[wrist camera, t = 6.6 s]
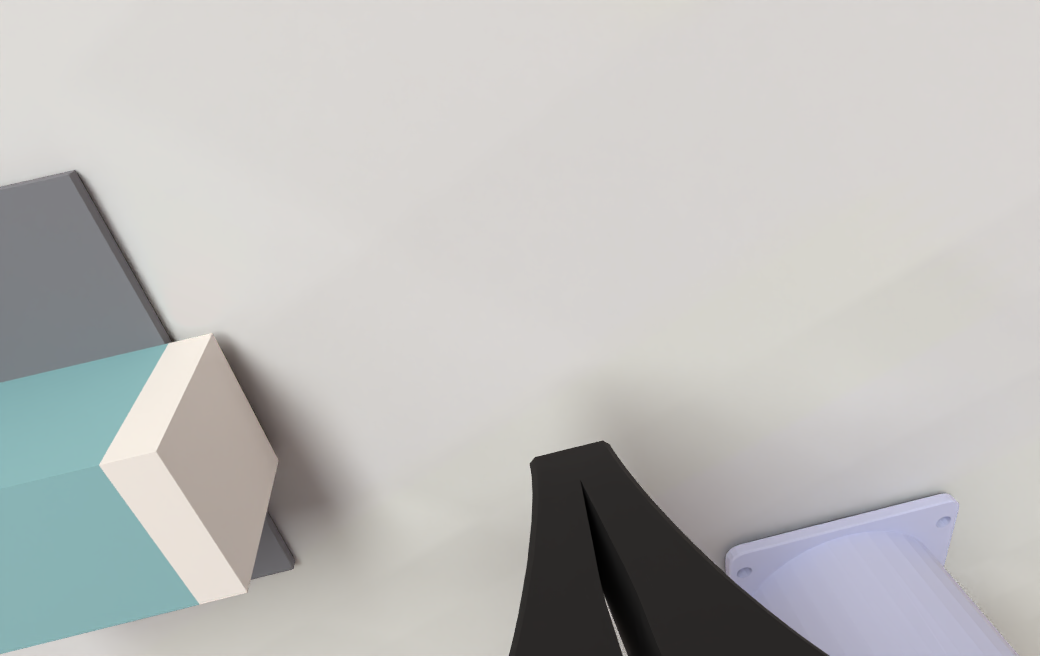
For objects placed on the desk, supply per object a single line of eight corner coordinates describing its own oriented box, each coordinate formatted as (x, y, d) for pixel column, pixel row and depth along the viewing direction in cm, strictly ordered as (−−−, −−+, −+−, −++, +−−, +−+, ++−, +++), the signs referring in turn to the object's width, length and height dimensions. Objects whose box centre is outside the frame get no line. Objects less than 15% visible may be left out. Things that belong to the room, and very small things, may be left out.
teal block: (247, 592, 14) (-143, 689, 13) (278, 460, 17) (-32, 535, 17) (155, 451, 11) (-311, 563, 11) (212, 332, 15) (-145, 416, 15)
